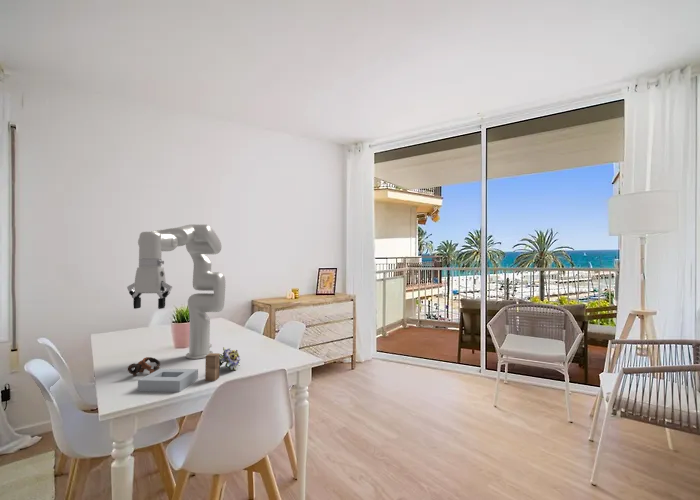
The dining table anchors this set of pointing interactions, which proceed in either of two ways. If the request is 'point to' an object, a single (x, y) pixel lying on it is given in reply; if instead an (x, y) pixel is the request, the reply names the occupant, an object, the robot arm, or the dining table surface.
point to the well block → (168, 380)
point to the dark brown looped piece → (143, 366)
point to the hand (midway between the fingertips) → (149, 308)
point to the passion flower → (229, 359)
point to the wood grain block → (212, 367)
